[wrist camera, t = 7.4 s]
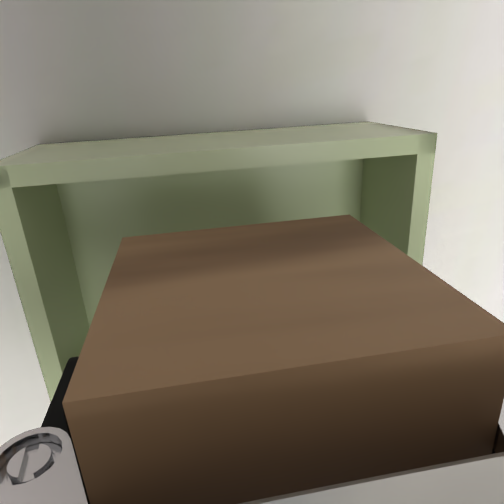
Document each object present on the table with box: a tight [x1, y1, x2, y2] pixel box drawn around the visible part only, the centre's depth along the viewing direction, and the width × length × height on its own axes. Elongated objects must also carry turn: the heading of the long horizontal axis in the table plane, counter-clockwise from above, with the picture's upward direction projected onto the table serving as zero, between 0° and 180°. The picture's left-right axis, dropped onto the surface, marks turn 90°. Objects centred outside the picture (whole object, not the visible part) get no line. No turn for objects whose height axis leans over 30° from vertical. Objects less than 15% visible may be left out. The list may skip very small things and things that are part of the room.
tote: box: [0, 122, 437, 401], centre depth 16 cm, size 9×13×5 cm
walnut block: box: [62, 214, 504, 504], centre depth 9 cm, size 6×6×6 cm
